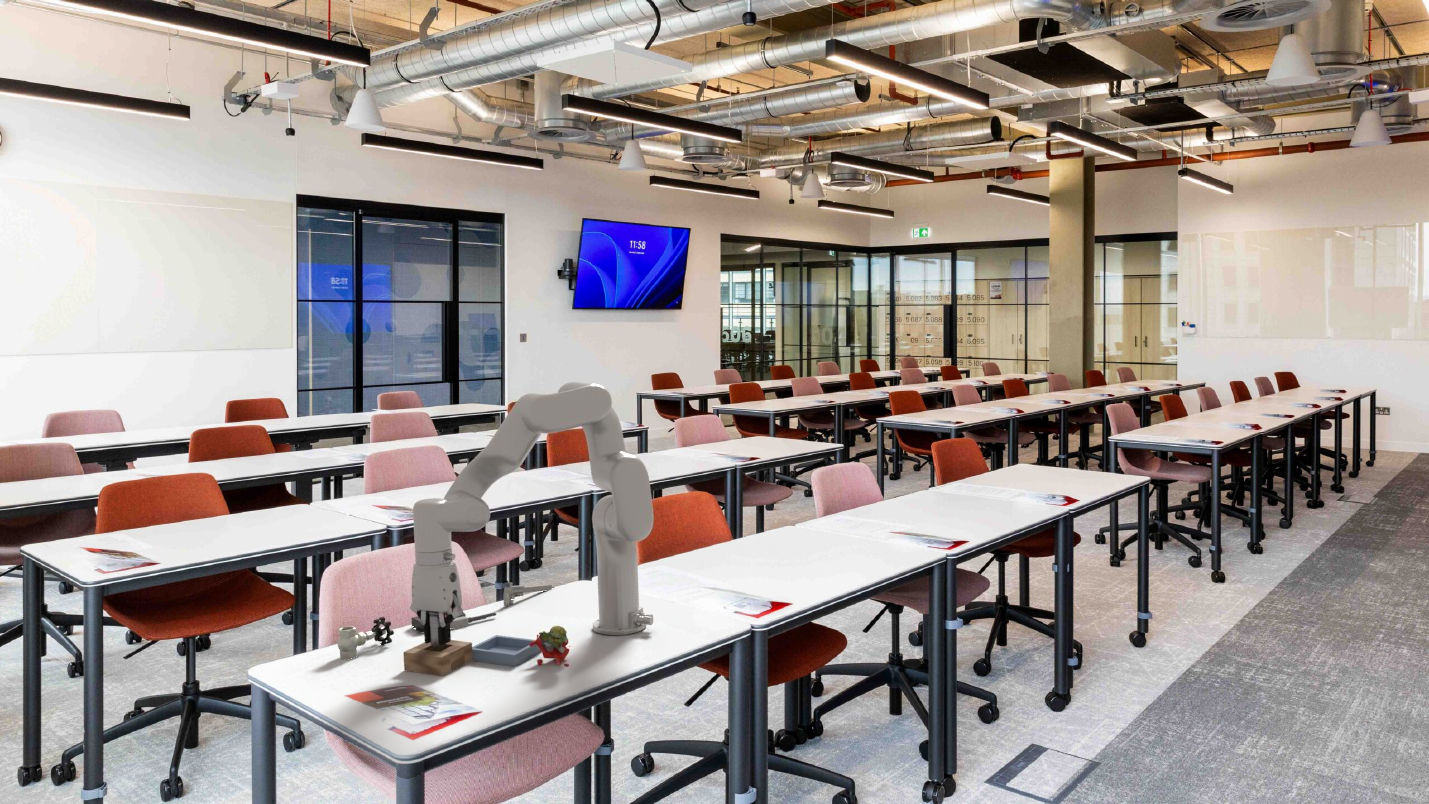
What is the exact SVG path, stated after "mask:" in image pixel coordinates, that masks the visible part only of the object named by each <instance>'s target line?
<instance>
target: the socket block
mask: <svg viewBox="0 0 1429 804" xmlns="http://www.w3.org/2000/svg"><path fill="white" fill-rule="evenodd" d="M472 647H473V642H471V641H469V642H468V641H464V640H457V639H456V640H455V639H451V641H450V642H448V643H446V644H445V649H444V650H442V651H440V652H438V651H431V642H430V643H425V641H424V642H422V643H420V644H418V645H416V646H414V647H412V648H409V649H407V650H405V651H403V670H405V672H411V671H415V672H414V673H419V674H425V675H426V674H427V675H433V676H438V675H439V677H444V676H445V675H448V674H450V673H452V672H454V671H455V670H456V671H457V669H459V668H461V667H463V666H465V665H467V664H469V663H471V662H474V661H473V655H472ZM406 670H407V671H406ZM453 670H454V671H453ZM451 671H452V672H451Z"/></svg>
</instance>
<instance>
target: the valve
mask: <svg viewBox="0 0 1429 804" xmlns="http://www.w3.org/2000/svg"><path fill="white" fill-rule="evenodd" d="M372 623H373V624H375V625H373V626H372V627H371V630H370V631H366V632H365V633H364V632H363V631H358V632H356V630H357V629H356V627H355V626H353V625H348V626H342V627H340V628H338V637H339V638H338V640H337V648H338V650H339V658H340V657H341V658H340V660H341V659H350V660H352V659H351V658H353V659H355V658H354V657H356V656H357V657H358V650H357V648H358V647H361V646H364V645H365V644H366V643H367V642H368V641H370V640H373V639H374V641H375V642H379V645H380V644H381V645H383V646H385V645H384V644H386V645H389V644H390V643H393V639H392V638H391V637H392V636H393V635H394V634H395V632H394V629H391V628H390V627H391V626H392V623H391V621H389V620H388V621H386V618H385V616H381V617H378V618H376V619H374V620H373V622H372ZM381 625H382V626H383V627H380V626H381ZM383 635H386V636H385V637H383ZM381 645H380V646H381ZM357 657H356V658H357Z"/></svg>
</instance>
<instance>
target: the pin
mask: <svg viewBox="0 0 1429 804" xmlns="http://www.w3.org/2000/svg"><path fill="white" fill-rule="evenodd" d="M429 621H430V642H431V651H438V652H440V651H442V650H444V649H445V644H444V645H439V640H438V627H440V620H439V612H432V611H429Z"/></svg>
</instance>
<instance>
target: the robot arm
mask: <svg viewBox="0 0 1429 804" xmlns="http://www.w3.org/2000/svg"><path fill="white" fill-rule="evenodd" d="M612 403H613V401H612V396H611V393H610V391H608V389H607V388H606V387H604V386H603V385H600V384H598V383H592V382H591V383H590V382H584V381H582V382H581V381H571V382H567V383H565V384H563V385H561V386H560V387H559V388H558V390H557V392H556V393H549V394H545V393H544V394H543V393H536V392H534V393H530V392H529V393H526V394H524V395H523V394H522V396H520V397H519V398H518V400H517V401H516V402H515V403H514V404H513V406H512V408H511V409H510V411H509V412H508V414H507V415H506V416H505V418H504V420H503V421H502V423H501V425H500V426H499V427H498V429H497V430H496V432H495V433H494V434H493V436H492V438H491V439H490V441H489V442H488V443H487V444H486V446H485V447H484V448H483V449H482V450H481V451H480V452H479V453H478V454H477V455H476V456H475V457H474V458H473V459H472V460H471V461H470V462H469V463H468V464H467V465H466V466H465V467H464V468H463V469H462V471H460V473H459V474H458V475H457V477H456V478H455V480H454V481H453V482H452V484H451V486H450V487H449V488H448V490H447V492H446V493H445V494H444V497H443V498H436V497H435V498H425V499H420V500H417V501H416V502H415V503H414V504H413V506H412V507H413V508H412V517H413V518H412V519H413V535H414V536H413V537H414V538H413V539H414V557H415V558H414V560H415V563H414V564H413V569H412V576H411V604H410V607H409V608H410V610H411V612H413V613H414V614H416V615H417V616H418V617H419V618H420V619H421V624H422V625H424V633H423V634H424V642H425V643H430V621H429V611H432V612H439V620H440V627H438V640H439V645H444V644H446V643H448V642H450V641H451V640H452V639H451V638H452V636H451V635H452V634H451V629H450V624H451V623H453V620H454V619H455V618H456V617H458V616H460V615H461V614H463V612H464V610H463V608H462V605H463V596H462V588H461V579H460V574H459V570H458V567H457V566H458V565H457V564H456V562H454V560H455V559H456V554H455V553H453V547H452V545H453V542H452V532H456V533H457V532H459V533H460V532H461V533H462V532H463V533H465V532H466V533H467V532H468V533H469V532H476V531H479V530H481V529H482V528H484V527H485V526H486V525H487V524H488V522H489V521H490V518H491V509H490V507H489V505H488V504H487V502H486V501H485V500H484V499H482V498H483V496H484V495H485V493H486V492H487V491H488V490H489V488H491V487H492V485H494V484H495V483H496V482H497V481H498V480H500V479H502V477H505V476H507V475H509V474H511V473H513V472H515V471H517V470H518V469H519V468H520V467H521V466H522V465H523V463H524V461H525V460H526V458H527V456H528V455H529V453H530V452H531V450H532V449H533V448H534V446H535V444H536V443H537V441H538V440H539V438H540V437H541V435H542V434H547V435H548V434H555V433H560V432H564V431H568V430H572V429H576V428H579V427H581V428H582V430H583V432H584V436H585V438H586V439H585V440H586V444H587V450H588V458H589V465H590V473H591V478H592V481H593V483H594V485H595V486H596V487H597V488H599V489H600V490H603V491H606V492H609V493H611V494H609V495H606V496H603V497H602V498H600V499H599V500H598V501H597V502H596V503H595V505H594V507H593V510H592V514H591V515H592V516H591V521H592V528H593V533H594V537H595V545H596V547H595V548H596V561H597V562H596V565H597V566H596V567H597V569H596V570H597V594H598V619H597V620H595V621H593V623H592V629H593V631H594V632H595V633H598V634H600V635H607V636H623V635H624V636H625V635H631V634H634V633H638V632H641V631H644V629H645V628H646V627H647V625H648V626H652V625H653V624H654V615H653V614H649V613H644V607H643V606H640V599H639V598H640V597H639V595H640V593H639V573H638V572H639V565H638V562H639V559H638V557H639V556H638V549H637V548H638V547H637V542H642V541H643V540H645V539H646V538H648V536H649V535H650V533H651V532H652V529H653V526H654V519H655V518H654V516H655V515H654V506H653V499H652V497H653V496H652V491H651V485H650V484H651V482H650V477H649V472H648V470H647V468H646V465H645V464H644V461H642V460H641V459H640V458H639V457H638V456H635V454H631V453H627V450H626V446H625V439H624V433H623V429H622V425H621V420H620V419H619V417H618V415H617V412H616V411H615V409H614V408H613V404H612ZM451 608H452V609H453V612H452V610H451ZM427 612H428V613H427ZM445 614H446V618H445ZM417 616H416V617H417Z"/></svg>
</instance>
